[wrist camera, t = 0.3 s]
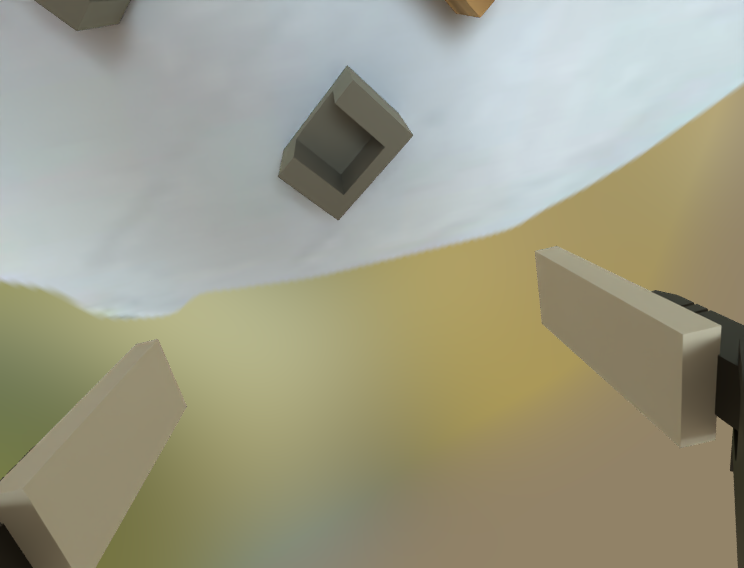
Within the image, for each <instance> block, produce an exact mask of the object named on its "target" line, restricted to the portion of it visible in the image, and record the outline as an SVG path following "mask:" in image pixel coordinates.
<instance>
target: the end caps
mask: <svg viewBox="0 0 744 568" xmlns="http://www.w3.org/2000/svg"><path fill="white" fill-rule="evenodd" d="M35 1H36V2H37V3H39V4H40V5H42V6H43V7H44V8H46V9H47V10H48V11H50V12H51V13H53V14H54V15H55V16H57V17H58V18H59V19H61V20H62V21H64V22H65V23H66V24H68V25H69V26H70V27H72V28H73V29H75V30H76V31H81V30H86V29H92V28H98V27H104V26H109V25H115V24H119V23H120V21H121V19H122V17H123V15H124V13H125V11H126V9H127V7H128V5H129V3H130V1H131V0H35ZM412 136H413V134H412V133H411V131H410V130H409V128H408V127H407V125H406V124H405V122H404V121H403V119H402V118H401V116H400V115H399V113H398V112H397V111H395V110H394V109H393V108H392V107H391V106H390V105H389V104H388V103H387V102H386V101H385V100H384V99H383V98H382V97H381V96H379V95H378V94H377V93H376V92H375V91H374V90H373V89H372V88H371V87H370V86H369V85H368V84H367V83H366V82H365V81H363V80H362V79H361V78H360V77H359V76H358V75H357V74H356V73H355V72H354V71H353V70H352V69H351V68H350V67H349V66H347V67H346V68H345V69H344V71H343V72H342V73H341V75H340V76H339V77H338V79H337V80H336V81H335V83H334V84H333V85H332V86H331V88H330V89H329V90H328V92H327V93H326V94H325V96H324V97H323V98H322V100H321V101H320V102H319V104H318V105H317V106H316V108H315V109H314V110H313V112H312V113H311V114H310V116H309V117H308V118H307V120H306V121H305V122H304V124H303V125H302V126H301V128H300V129H299V130H298V132H297V133H296V134H295V136H294V137H293V138H292V140H291V141H290V142H289V144H288V145H287V146H286V148H285V149H284V151H283V156H282V161H281V166H280V171H279V176H278V177H279V178H280V179H282V180H283V181H284V182H286V183H287V184H289V185H290V186H291V187H293V188H294V189H295V190H297V191H298V192H300V193H301V194H302V195H304V196H305V197H306V198H308V199H309V200H311V201H312V202H313V203H315V204H316V205H318V206H319V207H320V208H322V209H323V210H324V211H326V212H327V213H329V214H330V215H331V216H333V217H334V218H335V219H337V220H339V219H340V218H341V217H342V216H343V215H344V214H345V212H346V211H347V210H348V209H349V208H350V207H351V206H352V204H353V203H354V202H355V201H356V200H357V199H358V198H359V197H360V195H361V194H362V193H363V192H364V191H365V190H366V189H367V187H368V186H369V185H370V184H371V183H372V182H373V181H374V180H375V178H376V177H377V176H378V175H379V174H380V173H381V172H382V170H383V169H384V168H385V167H386V166H387V165H388V164H389V163H390V161H391V160H392V159H393V158H394V157H395V156H396V155H397V153H398V152H399V151H400V150H401V149H402V148H403V147H404V145H405V144H406V143H407V142H408V141H409V140H410V139H411V138H412Z"/></svg>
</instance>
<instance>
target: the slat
mask: <svg viewBox="0 0 744 568" xmlns="http://www.w3.org/2000/svg"><path fill="white" fill-rule="evenodd" d="M445 1H446V2H447V3H448V5H449V6H450V7H451V8H452V9H453V10H454V12H455V13H456V14H461V15H467V16H473V17H479V18H480V17H481V16H482V15H483V14H484V13H485V11H486V10H487V9H488V8H489V7H490V5H491V4H492V3H493V2H494V1H495V0H445Z"/></svg>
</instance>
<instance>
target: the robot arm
mask: <svg viewBox="0 0 744 568" xmlns="http://www.w3.org/2000/svg"><path fill="white" fill-rule="evenodd" d="M535 256H536V267H537V277H538V287H539V297H540V308H541V319H542V324H543V325H544V326H545V327H546V328H548V329H549V330H550V331H551V332H552V333H553V334H554V335H555V336H556V337H557V338H559V339H560V340H561V341H562V342H563V343H564V344H565V345H566V346H567V347H569V348H570V349H571V350H572V351H573V352H574V353H575V354H576V355H578V356H579V357H580V358H581V359H582V360H583V361H584V362H585V363H586V364H587V365H589V366H590V367H591V368H592V369H593V370H594V371H595V372H596V373H597V374H599V375H600V376H601V377H602V378H603V379H604V380H605V381H607V382H608V383H609V384H610V385H611V386H612V387H613V388H614V389H615V390H616V391H618V392H619V393H620V394H621V395H622V396H623V397H624V398H625V399H626V400H628V401H629V402H630V403H631V404H632V405H633V406H634V407H635V408H636V409H638V410H639V411H640V412H641V413H642V414H643V415H644V416H645V417H647V418H648V419H649V420H650V421H651V422H652V423H653V424H654V425H655V426H657V427H658V428H659V429H660V430H661V431H662V432H663V433H664V434H665V435H666V436H668V437H669V438H670V439H671V440H672V441H673V442H674V443H675V444H676V445H678V446H679V447H680V448H683V447H687V446H692V445H695V444H700V443H705V442H709V441H713V440H715V436H716V417H717V416H718V417H719V418H721V419H722V420H723V421H725V422H726V423H727V424H729V425H730V426H732V427H733V436H732V450H731V465H730V471H733V473H734V494H735V515H736V535H737V536H736V537H737V558H738V568H744V325H742V324H739V323H737V322H735V321H733V320H731V319H729V318H727V317H724V316H722V315H720V314H718V313H716V312H713V311H708V309H707V308H704V307H702V306H700V305H698V304H696V305H694V303H693V302H691V301H689V300H687V299H685V298H683V297H680V296H678V295H675V294H670V293H665V292H661V291H657V290H655V291H649V290H646V289H645V288H643V287H641V286H639V285H636V284H634V283H632V282H630V281H628V280H626V279H624V278H622V277H620V276H618V275H616V274H614V273H612V272H610V271H607V270H605V269H603V268H601V267H599V266H597V265H595V264H593V263H591V262H589V261H587V260H585V259H583V258H581V257H578V256H576V255H574V254H572V253H570V252H568V251H566V250H564V249H562V248H560V247H558V246H555V247H551V248H547V249H542V250H538V251H535ZM186 407H187V406H186V403H185V401H184V399H183V396H182V394H181V392H180V389H179V387H178V385H177V382H176V380H175V378H174V375H173V373H172V371H171V368H170V366H169V363H168V361H167V359H166V356H165V354H164V352H163V349H162V347H161V345H160V342H159V340H158V339H156V340H152V341H147V342H143V343H139V344H136V345H135V346H134V347H133V348H132V349H131V350H130V351H129V352H128V353H127V354H126V355H125V356H124V357H123V358H122V359H121V360H120V361H119V362H118V363H117V364H116V365H115V366H114V367H113V368H112V369H111V370H110V371H109V372H108V373H107V374H106V375H105V376H104V377H103V378H102V379H101V380H100V381H99V382H98V383H97V384H96V385H95V386H94V387H93V388H92V389H91V390H90V391H89V392H88V393H87V394H86V395H85V396H84V397H83V398H82V399H81V400H80V401H79V402H78V403H77V405H75V406H74V407H73V408H72V409H71V410H70V411H69V412H68V413H67V414H66V415H65V416H64V417H63V418H62V419H61V420H60V421H59V422H58V423H57V424H56V425H55V426H54V428H53V429H52V430H51V431H50V432H49V433H48V434H47V435H46V436H45V437H44V438H43V439H42V440H41V441H40V442H39V443H38V444H37V445H35V446H34V447H33V448H32V449H31V450H30V451H29V452H28V453H27V454H26V455H25V456H24V457H23V458H22V459H21V460H20V461H19V463H18V464H16V465H15V466H14V467H13V468H12V469H11V470H10V471H9V472H8V473H7V475H6V476H5V477H3V478H2V479H1V480H0V568H95V567H96V566H97V564H98V562H99V560H100V558H101V557H102V555H103V553H104V551H105V550H106V548H107V546H108V544H109V543H110V541H111V539H112V537H113V536H114V534H115V532H116V530H117V528H118V527H119V525H120V523H121V521H122V519H123V518H124V516H125V514H126V513H127V511H128V509H129V507H130V506H131V504H132V502H133V500H134V499H135V497H136V495H137V493H138V492H139V490H140V488H141V486H142V485H143V483H144V481H145V479H146V477H147V476H148V474H149V472H150V470H151V469H152V467H153V465H154V463H155V462H156V460H157V458H158V456H159V455H160V453H161V451H162V449H163V448H164V446H165V444H166V442H167V440H168V439H169V437H170V435H171V433H172V432H173V430H174V428H175V426H176V425H177V423H178V421H179V419H180V417H181V416H182V414H183V412H184V410H185V409H186Z"/></svg>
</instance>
